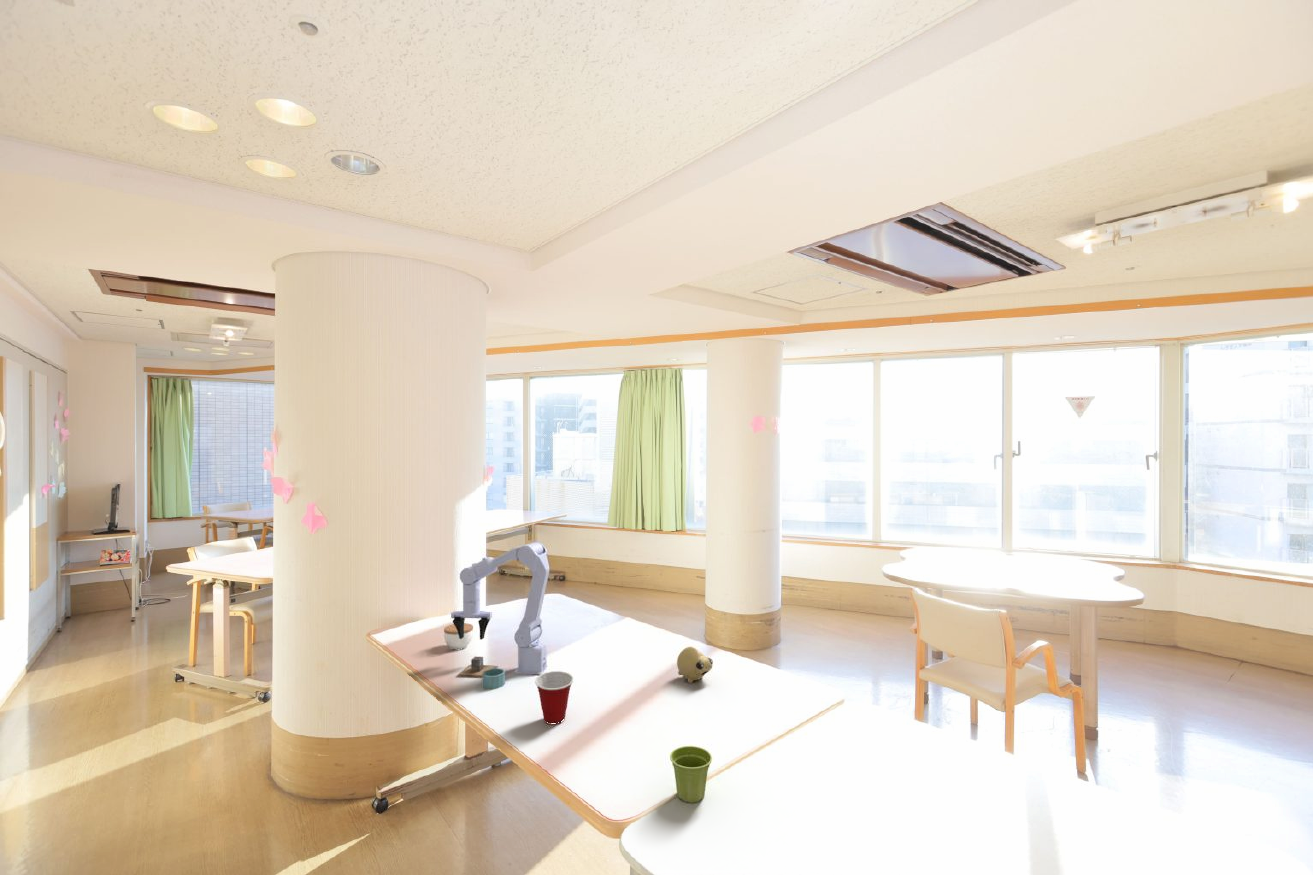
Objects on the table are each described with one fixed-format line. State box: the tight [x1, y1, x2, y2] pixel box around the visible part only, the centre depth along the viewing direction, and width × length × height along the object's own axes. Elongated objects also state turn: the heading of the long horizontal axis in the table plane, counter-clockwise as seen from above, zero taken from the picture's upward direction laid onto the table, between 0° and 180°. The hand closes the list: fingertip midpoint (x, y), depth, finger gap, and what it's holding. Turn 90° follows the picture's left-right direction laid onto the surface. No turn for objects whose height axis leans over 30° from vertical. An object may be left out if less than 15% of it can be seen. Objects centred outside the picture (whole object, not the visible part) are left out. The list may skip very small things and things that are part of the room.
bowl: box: [481, 667, 506, 690], centre depth 197 cm, size 7×7×4 cm
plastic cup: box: [534, 670, 574, 723], centre depth 171 cm, size 11×11×12 cm
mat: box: [455, 665, 499, 679], centre depth 208 cm, size 11×11×1 cm
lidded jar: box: [443, 622, 474, 650], centre depth 234 cm, size 11×11×9 cm
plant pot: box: [669, 745, 713, 803], centre depth 135 cm, size 9×9×9 cm
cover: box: [458, 656, 496, 677], centre depth 208 cm, size 9×9×5 cm
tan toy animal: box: [676, 646, 714, 683], centre depth 200 cm, size 10×12×11 cm
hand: (471, 638), depth 215 cm, fingers open, 7 cm apart
